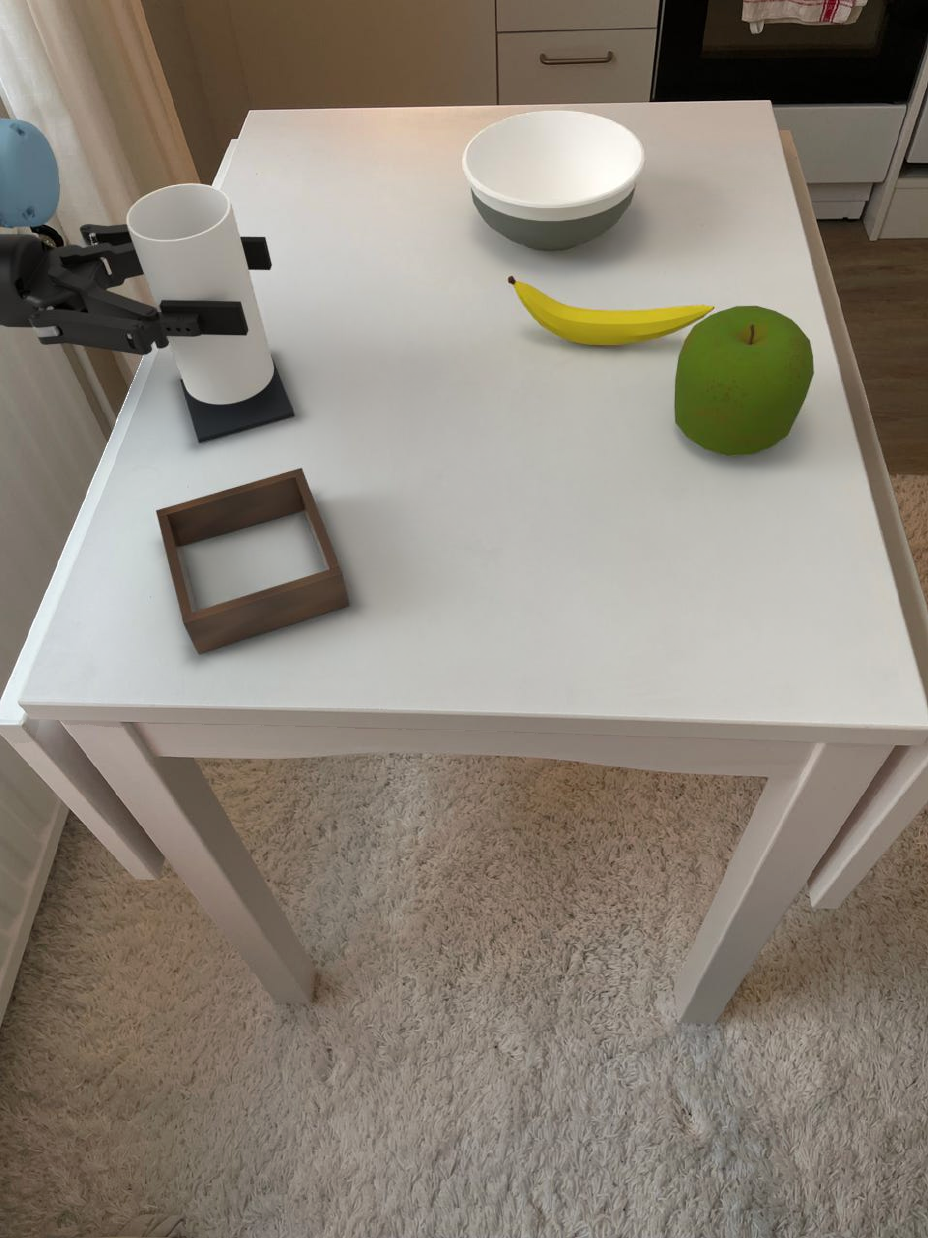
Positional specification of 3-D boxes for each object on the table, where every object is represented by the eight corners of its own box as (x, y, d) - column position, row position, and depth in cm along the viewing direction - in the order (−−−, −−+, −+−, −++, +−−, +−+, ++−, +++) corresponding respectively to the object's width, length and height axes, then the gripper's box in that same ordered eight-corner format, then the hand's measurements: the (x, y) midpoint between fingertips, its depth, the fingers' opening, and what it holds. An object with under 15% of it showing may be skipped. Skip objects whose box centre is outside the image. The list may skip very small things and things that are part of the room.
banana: (705, 361, 90) (716, 303, 84) (506, 343, 92) (505, 286, 87) (706, 341, 91) (718, 283, 86) (511, 324, 94) (510, 267, 89)
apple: (773, 486, 80) (804, 383, 71) (650, 449, 83) (666, 347, 74) (808, 403, 85) (841, 299, 77) (692, 372, 89) (710, 269, 80)
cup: (282, 346, 89) (242, 183, 76) (262, 406, 84) (215, 242, 72) (197, 344, 90) (143, 182, 77) (173, 403, 85) (111, 240, 72)
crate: (198, 654, 72) (183, 623, 69) (170, 542, 79) (155, 510, 76) (350, 605, 74) (342, 573, 71) (310, 501, 81) (301, 467, 78)
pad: (199, 443, 86) (197, 439, 86) (181, 383, 91) (179, 379, 91) (295, 416, 88) (294, 412, 87) (272, 358, 93) (271, 354, 93)
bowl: (450, 196, 108) (446, 123, 102) (609, 171, 110) (615, 97, 103) (485, 292, 97) (482, 217, 91) (661, 263, 99) (671, 187, 92)
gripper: (57, 248, 91) (290, 251, 88) (-32, 397, 78) (237, 405, 76) (24, 172, 84) (273, 173, 82) (-78, 321, 72) (212, 326, 70)
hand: (255, 284), depth 79 cm, fingers closed on cup, 8 cm apart
